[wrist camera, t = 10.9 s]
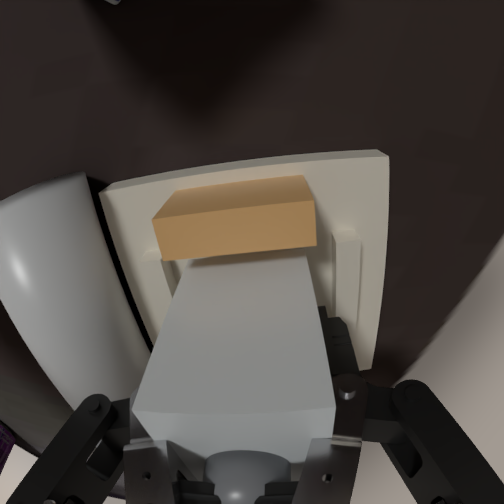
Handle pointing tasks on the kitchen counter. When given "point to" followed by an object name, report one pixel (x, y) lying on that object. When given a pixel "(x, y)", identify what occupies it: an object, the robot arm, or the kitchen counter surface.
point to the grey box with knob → (240, 373)
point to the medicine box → (113, 1)
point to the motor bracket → (183, 254)
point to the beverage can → (5, 444)
